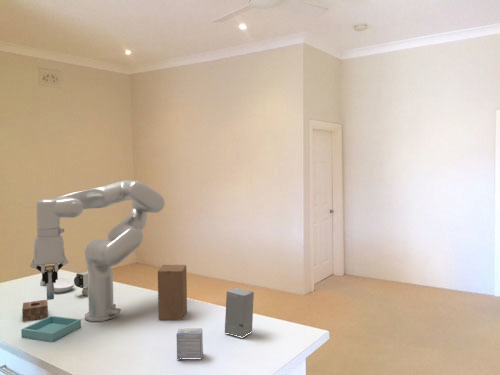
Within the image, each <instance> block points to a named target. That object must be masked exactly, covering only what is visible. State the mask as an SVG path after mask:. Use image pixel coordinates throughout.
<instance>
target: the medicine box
mask: <svg viewBox="0 0 500 375" xmlns="http://www.w3.org/2000/svg"><path fill="white" fill-rule="evenodd" d="M175 335H176V360H177V359H180V358H181V359H182V358H202V359H203V355H202V354H204V348H203V346H204V345H203V344H204V343H203V342H204V341H203V328H202V327H199V328H197V327H196V328H195V327H193V328H191V327H190V328H189V327H188V328H178V330H177V333H176V334H175Z"/></svg>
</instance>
